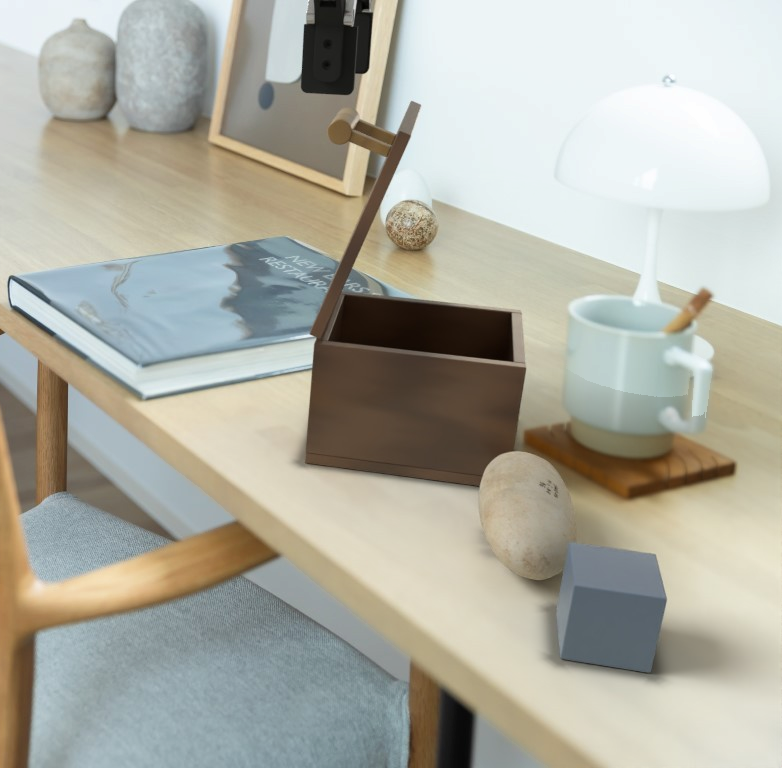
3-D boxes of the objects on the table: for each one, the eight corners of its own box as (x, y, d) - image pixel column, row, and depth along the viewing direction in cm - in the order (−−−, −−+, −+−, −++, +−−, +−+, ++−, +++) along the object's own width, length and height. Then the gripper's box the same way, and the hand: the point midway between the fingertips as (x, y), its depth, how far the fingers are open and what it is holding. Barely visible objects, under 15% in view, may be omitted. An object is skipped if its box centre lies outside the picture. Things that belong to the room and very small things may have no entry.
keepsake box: (505, 419, 88) (522, 309, 85) (507, 490, 78) (526, 367, 74) (326, 397, 91) (335, 290, 87) (304, 463, 80) (314, 343, 77)
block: (640, 624, 64) (656, 553, 62) (650, 673, 60) (667, 599, 58) (555, 611, 65) (568, 541, 63) (559, 659, 61) (573, 585, 59)
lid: (421, 104, 81) (355, 76, 81) (411, 135, 70) (335, 103, 71) (340, 286, 87) (279, 259, 87) (320, 339, 77) (250, 309, 77)
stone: (559, 462, 76) (627, 501, 64) (520, 550, 76) (581, 606, 64) (477, 429, 75) (531, 463, 64) (439, 518, 76) (484, 568, 64)
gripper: (409, -228, 61) (383, 106, 67) (426, -201, 76) (404, 68, 83) (267, -229, 62) (255, 99, 69) (312, -202, 78) (299, 63, 84)
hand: (336, 82), depth 76 cm, fingers open, 9 cm apart
